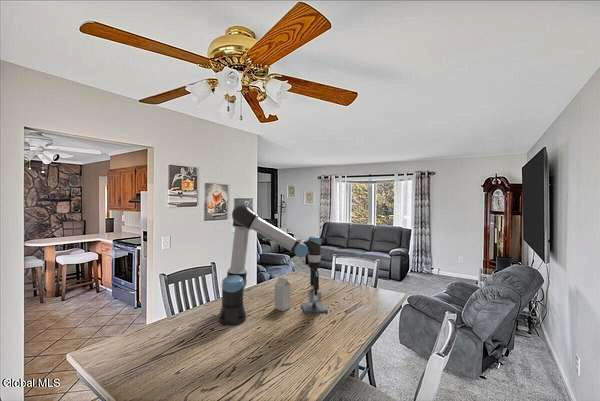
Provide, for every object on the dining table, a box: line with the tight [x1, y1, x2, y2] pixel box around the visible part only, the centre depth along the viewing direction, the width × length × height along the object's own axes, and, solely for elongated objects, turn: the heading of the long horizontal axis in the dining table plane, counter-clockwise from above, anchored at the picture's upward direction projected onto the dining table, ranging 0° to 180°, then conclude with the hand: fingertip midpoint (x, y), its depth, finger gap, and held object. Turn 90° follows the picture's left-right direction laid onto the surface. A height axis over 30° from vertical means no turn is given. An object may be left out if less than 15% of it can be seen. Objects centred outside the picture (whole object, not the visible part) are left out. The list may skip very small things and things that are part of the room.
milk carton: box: [274, 276, 292, 312], centre depth 179 cm, size 7×7×19 cm
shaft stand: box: [300, 301, 329, 315], centre depth 179 cm, size 14×14×8 cm
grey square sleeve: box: [307, 288, 322, 303], centre depth 179 cm, size 7×7×6 cm
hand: (314, 298), depth 179 cm, fingers closed on grey square sleeve, 7 cm apart
